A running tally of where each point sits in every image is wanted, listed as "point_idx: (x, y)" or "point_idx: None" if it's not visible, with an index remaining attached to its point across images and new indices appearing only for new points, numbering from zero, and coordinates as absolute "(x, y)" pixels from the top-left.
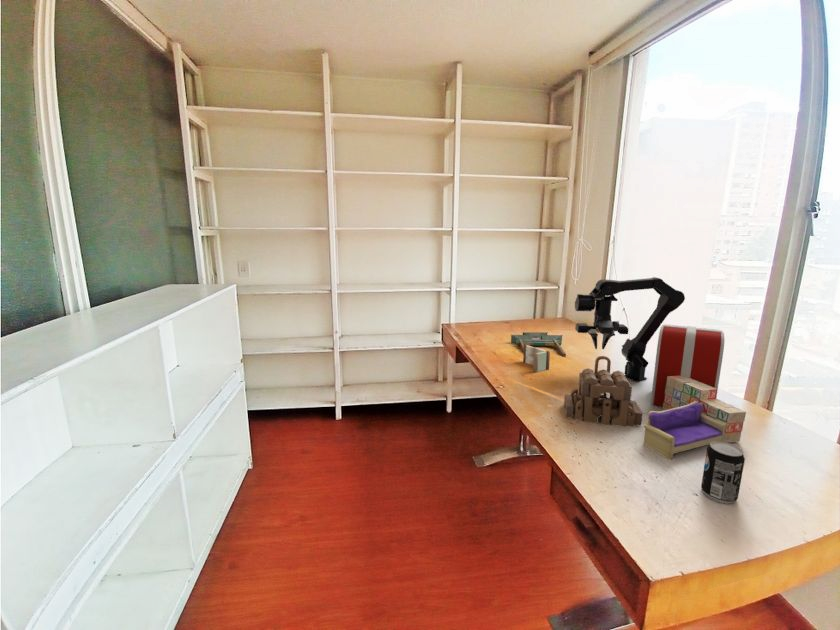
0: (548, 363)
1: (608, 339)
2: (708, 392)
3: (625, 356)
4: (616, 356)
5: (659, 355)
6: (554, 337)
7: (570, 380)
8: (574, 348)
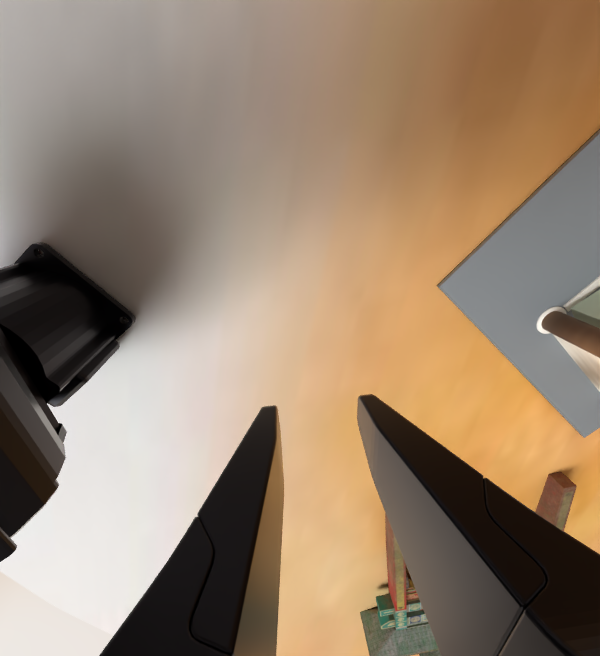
0: (595, 331)
1: (146, 610)
2: None
3: (11, 377)
4: (160, 561)
5: None
6: (400, 641)
7: (473, 180)
8: (322, 589)
